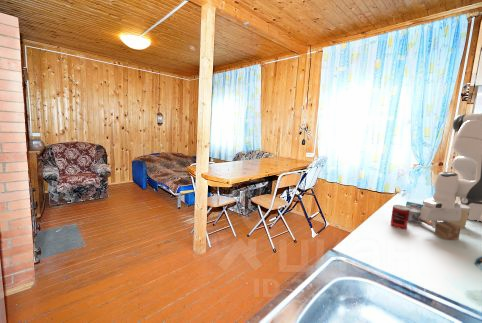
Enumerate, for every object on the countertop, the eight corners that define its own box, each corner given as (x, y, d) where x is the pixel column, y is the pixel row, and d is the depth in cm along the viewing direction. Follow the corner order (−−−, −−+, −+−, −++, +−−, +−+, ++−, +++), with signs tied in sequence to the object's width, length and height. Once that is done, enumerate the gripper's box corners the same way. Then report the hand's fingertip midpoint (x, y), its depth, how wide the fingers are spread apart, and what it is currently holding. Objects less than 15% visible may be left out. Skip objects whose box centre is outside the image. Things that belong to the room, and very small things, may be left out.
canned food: (401, 223, 132) (404, 205, 130) (410, 229, 124) (413, 210, 122) (387, 222, 132) (390, 204, 131) (395, 228, 125) (398, 209, 123)
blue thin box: (405, 210, 155) (406, 201, 154) (405, 209, 156) (407, 201, 155) (427, 215, 146) (429, 206, 146) (428, 215, 147) (429, 206, 147)
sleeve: (413, 218, 140) (414, 208, 139) (421, 222, 134) (423, 212, 133) (403, 218, 139) (404, 208, 138) (411, 222, 133) (413, 212, 132)
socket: (446, 234, 120) (448, 221, 119) (458, 239, 114) (461, 226, 113) (434, 234, 119) (436, 221, 118) (445, 239, 113) (448, 226, 112)
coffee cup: (471, 229, 127) (475, 209, 125) (451, 227, 129) (455, 207, 127) (458, 223, 136) (462, 203, 134) (440, 221, 138) (444, 202, 136)
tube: (423, 221, 132) (424, 215, 131) (451, 234, 116) (452, 227, 115) (416, 221, 131) (417, 215, 131) (444, 234, 116) (445, 227, 115)
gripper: (454, 201, 123) (450, 225, 125) (420, 201, 121) (416, 225, 123) (467, 205, 117) (462, 230, 119) (431, 205, 114) (426, 231, 116)
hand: (438, 228), depth 121 cm, fingers closed on tube, 3 cm apart
